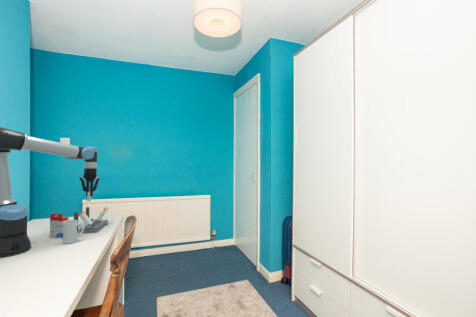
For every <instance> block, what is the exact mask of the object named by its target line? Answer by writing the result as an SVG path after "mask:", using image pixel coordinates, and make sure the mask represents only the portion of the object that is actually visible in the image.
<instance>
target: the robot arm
mask: <svg viewBox="0 0 476 317" xmlns="http://www.w3.org/2000/svg"><path fill="white" fill-rule="evenodd" d="M11 150H12V151H13V150H14V151H22V150H24V151H25V150H26V151H31V152H37V153H44V154H49V155H55V156H56V155H57V156H60V157H61V156H62V157H64V158H65V159H67V160H83V161H84V166H83V167H84V169H83V175H82V177H79V181H80V182H81V188H82V191H83V192H85V196H86V199H87V200H86V202H91V201H92V197H93V196H94V192H96V190H97V188H98V185H99V182H100V180H101V177H98V175H97V173H98V172H97V171H98V169H97V168H98V148H97V147H96V146H85V147H82V146H78V145H72V144H70V143H69V144H68V143H63V142H59V141H53V140H49V139H45V138H39V137H35V136H30V135H27V134H26V133H25V132H21V131H17V130H14V129H13V130H12V129H10V128H5V127H1V126H0V258H5V257H6V258H7V257H11V256H17V255H19V254H23V253H25V252H28V251H29V250H31V249H32V242H31V240H30V238H29V236H28V235H29V234H28V215H29V212H28V207H27V206H26V205H24V204H18V202H17V199H15V198H13V193H12V192H13V191H12V186H11V175H10V169H9V167H10V166H9V159H8V155H9V154H11V153H12V151H11Z"/></svg>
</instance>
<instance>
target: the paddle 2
mask: <svg viewBox="0 0 476 317" xmlns="http://www.w3.org/2000/svg"><path fill="white" fill-rule="evenodd" d="M108 210H109V207H107V206H105V207H104V208H103V209H102V211H101V212H100V213H99V216H98V217H97V218H96V220H98V222H99V221H100V220H103V218H104V216H105V215H106V213H108V212H107V211H108Z"/></svg>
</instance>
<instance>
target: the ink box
mask: <svg viewBox="0 0 476 317" xmlns="http://www.w3.org/2000/svg"><path fill="white" fill-rule="evenodd" d="M68 220H69V216H63V213H50V218H49V237H50V238H61V239H63V222H64V221H68Z"/></svg>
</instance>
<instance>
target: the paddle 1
mask: <svg viewBox="0 0 476 317" xmlns="http://www.w3.org/2000/svg"><path fill="white" fill-rule="evenodd" d="M78 217H79V218H80V219H81V220H82V222H83V224H85V225H87V226H88V224H92V223H93V222H92V221H93V220H92V221H91V218H90V216H89V217H88V216H87V215H86V211H82V212H80V213H78Z"/></svg>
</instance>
